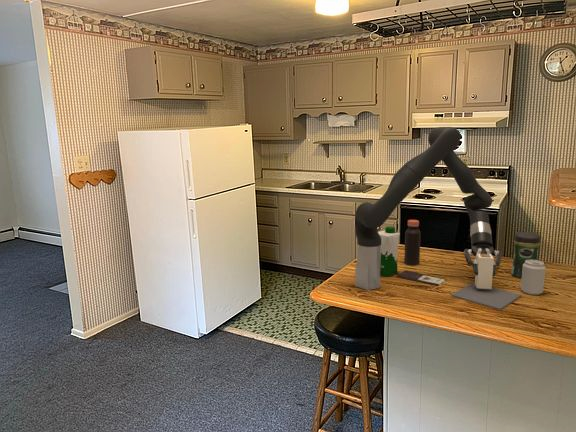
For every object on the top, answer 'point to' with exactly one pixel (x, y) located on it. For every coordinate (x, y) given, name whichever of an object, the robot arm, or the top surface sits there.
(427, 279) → the chocolate bar
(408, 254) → the bottle
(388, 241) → the milk carton
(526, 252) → the coffee jar
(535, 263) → the can
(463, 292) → the rubber mat
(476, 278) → the cream block
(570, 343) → the top surface
